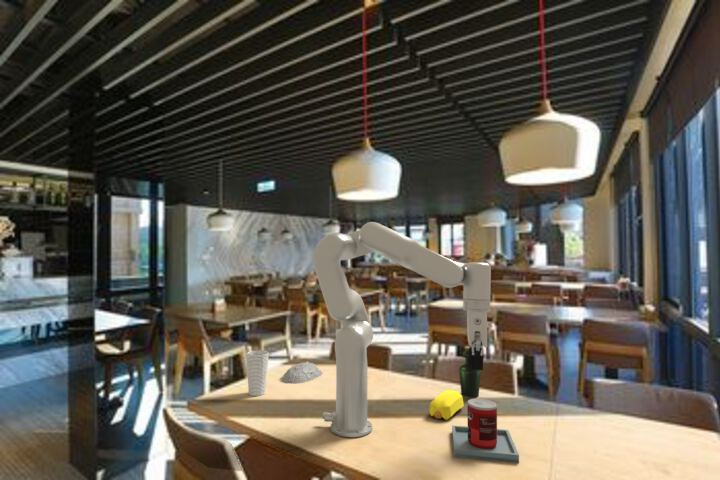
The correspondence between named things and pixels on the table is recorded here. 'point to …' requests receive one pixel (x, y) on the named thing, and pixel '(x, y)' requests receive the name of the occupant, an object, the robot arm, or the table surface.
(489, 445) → the canned food
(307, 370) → the grey rock
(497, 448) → the tray
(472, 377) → the potion bottle
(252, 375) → the cup
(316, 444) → the table surface
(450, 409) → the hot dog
